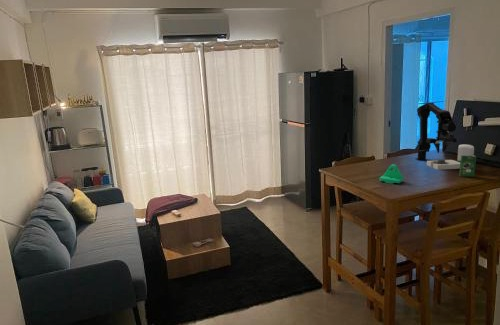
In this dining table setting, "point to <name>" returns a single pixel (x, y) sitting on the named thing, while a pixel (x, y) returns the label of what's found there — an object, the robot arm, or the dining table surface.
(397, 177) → the green peaked piece
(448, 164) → the board
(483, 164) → the dining table surface
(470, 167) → the coffee box
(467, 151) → the photo printer
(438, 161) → the cap
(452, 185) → the dining table surface
